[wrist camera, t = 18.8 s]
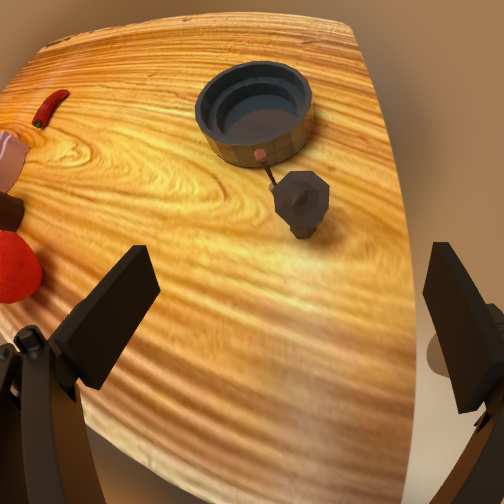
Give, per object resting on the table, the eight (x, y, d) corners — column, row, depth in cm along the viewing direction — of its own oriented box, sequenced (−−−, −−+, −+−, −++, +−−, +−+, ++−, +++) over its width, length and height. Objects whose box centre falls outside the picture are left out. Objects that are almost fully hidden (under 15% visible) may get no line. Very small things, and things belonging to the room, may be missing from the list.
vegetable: (38, 124, 52) (68, 86, 55) (24, 120, 51) (53, 83, 55) (44, 135, 56) (72, 98, 59) (31, 130, 55) (58, 94, 59)
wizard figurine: (334, 214, 37) (340, 165, 25) (317, 255, 36) (317, 220, 25) (274, 191, 39) (256, 138, 28) (255, 230, 38) (229, 188, 27)
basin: (328, 101, 41) (328, 74, 36) (286, 184, 39) (280, 161, 33) (239, 79, 46) (230, 54, 40) (190, 151, 44) (174, 129, 38)
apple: (35, 234, 47) (-17, 211, 35) (64, 263, 44) (3, 241, 31) (12, 288, 46) (-40, 274, 33) (39, 322, 43) (-22, 313, 30)
